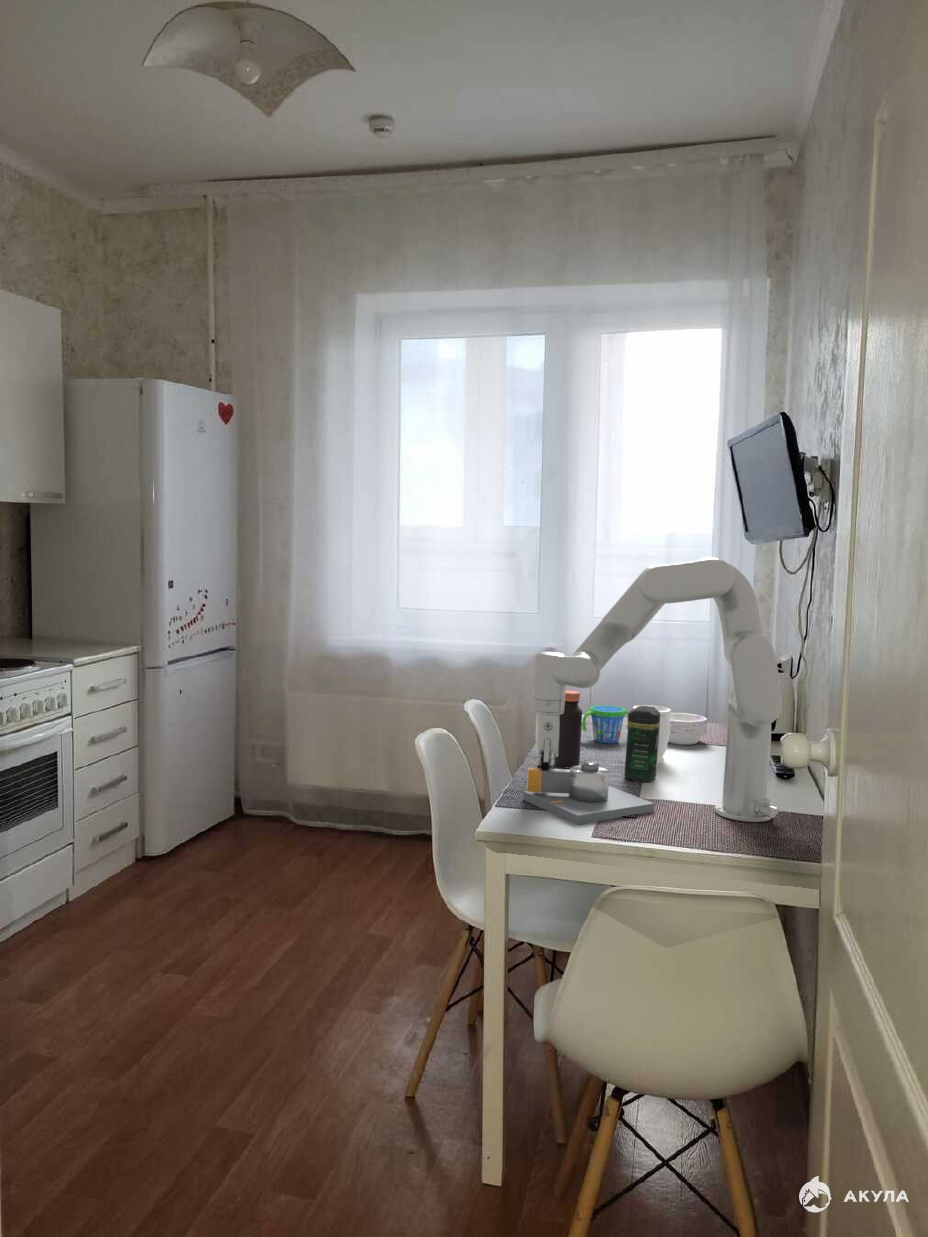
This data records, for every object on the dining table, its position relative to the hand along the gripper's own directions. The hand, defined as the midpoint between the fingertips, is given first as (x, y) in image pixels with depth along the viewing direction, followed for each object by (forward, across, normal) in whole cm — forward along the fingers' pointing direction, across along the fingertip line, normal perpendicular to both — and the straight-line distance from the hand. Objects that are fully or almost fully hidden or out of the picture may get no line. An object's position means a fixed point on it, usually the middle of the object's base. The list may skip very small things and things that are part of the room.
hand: (543, 783), depth 218 cm
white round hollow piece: (+4, +71, -46) cm, 84 cm away
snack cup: (+4, +66, -22) cm, 70 cm away
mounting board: (+4, -4, -10) cm, 11 cm away
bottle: (+4, +34, -8) cm, 35 cm away
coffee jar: (+4, +24, -26) cm, 36 cm away
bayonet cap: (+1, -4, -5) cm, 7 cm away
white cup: (+4, +43, -32) cm, 54 cm away
